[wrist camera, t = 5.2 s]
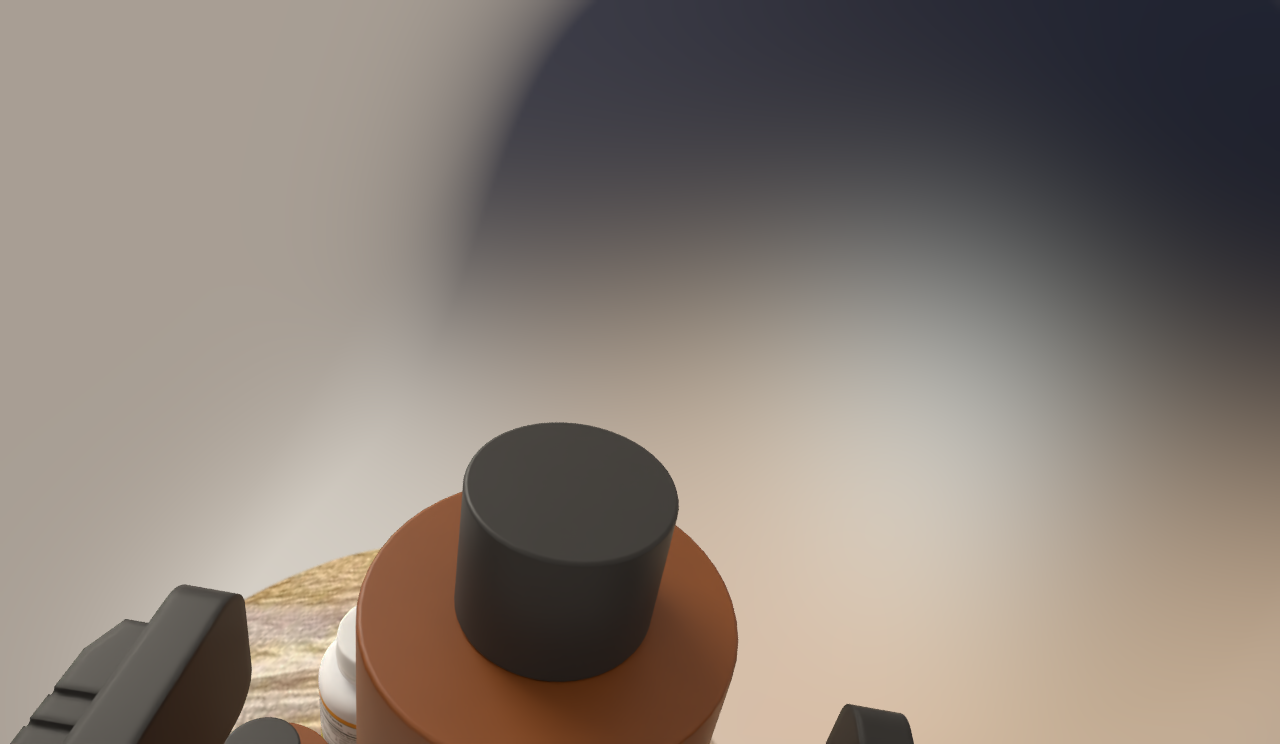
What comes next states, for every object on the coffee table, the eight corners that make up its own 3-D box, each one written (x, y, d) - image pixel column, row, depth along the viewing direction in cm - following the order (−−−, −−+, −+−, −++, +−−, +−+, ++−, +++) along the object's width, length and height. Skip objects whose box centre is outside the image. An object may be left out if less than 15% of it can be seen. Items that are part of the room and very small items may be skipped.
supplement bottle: (419, 706, 46) (427, 567, 40) (458, 796, 42) (471, 657, 37) (309, 745, 43) (302, 602, 38) (340, 847, 39) (336, 704, 34)
